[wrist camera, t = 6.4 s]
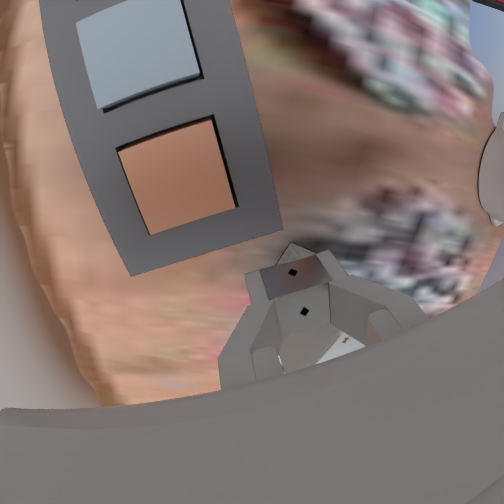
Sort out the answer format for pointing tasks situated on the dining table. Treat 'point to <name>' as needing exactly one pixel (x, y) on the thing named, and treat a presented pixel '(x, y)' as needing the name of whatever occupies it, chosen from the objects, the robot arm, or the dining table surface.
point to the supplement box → (312, 334)
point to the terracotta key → (177, 175)
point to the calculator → (492, 3)
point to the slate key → (136, 50)
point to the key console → (161, 118)
